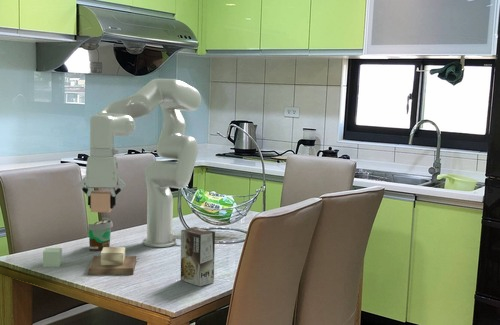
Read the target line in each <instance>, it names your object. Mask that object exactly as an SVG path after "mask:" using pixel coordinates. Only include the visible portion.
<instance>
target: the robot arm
mask: <svg viewBox="0 0 500 325" xmlns="http://www.w3.org/2000/svg"><path fill="white" fill-rule="evenodd" d="M201 104H202V96H201V94H200V92H199V90H198V89H196V88H195V87H193V86H191V85H189V84H188V83H186V82H184V81H182V80H179V79H175V78H154V79H151V80H150V81H149V82H147V83H146V84H145V85H144V86H143V87H141V88H140V89H139V90H138V91H136V92H135V93H134V94H132V95H129V96H127V97H124V98H122V99H120V100H116V101H114V102H111V103H109V104H108V105H106V106H105V107H104V108H102V109H101V110H100V111H99V112H98V113H96V114H93V115H91V116H90V119H89V156H87V161H86V167H85V175H84V177H83V178H82V179H81V180H80V181H79V182H78V183H77V186H78V188H79V189H81V190H82V192H83V193H84V194H86V197H87V205H88V206H89V209H91V193H92V192H93V191H94V189H109V191H110V192H111V197H110V208H111V209H112V210H113V209H114V207H115V206H116V201H117V200H116V199H117V195H118V194H119V193H121V191H122V190H123V189H125V188H126V186H127V184H126V183H125V182H124V181H123V180H122V179H121V178H120V176H119V165H118V158H117V157H116V156H115V155H118V154H119V150H118V149H116V148H115V137H121V138H123V137H124V138H125V137H129V136H131V135H132V134H133V133H134V132H135V130H136V122H135V119H138V118H143V117H145V116H148V115H150V114H151V113H152V112H153V111H154V110H155V109H156V108H157V107H159V106H160V108H161V112H162V116H163V125H162V129H161V132H160V135H159V138H158V142H157V145H156V154H157V155H158V157H159V158H162V159H165V160H152V161H150V162H149V163H148V164H147V165H146V166H145V169H144V177H145V183H146V189H147V190H146V191H147V192H146V193H147V199H146V200H147V204H146V206H147V208H146V210H147V212H146V219H147V220H146V237H145V238H144V239H142V244H143V245H144V246H147V247H151V248H167V247H172V246H174V245H176V244H177V240H181V233H175V232H174V230H173V221H174V220H173V218H174V216H173V213H174V211H173V210H174V197H173V193H172V191H171V188H173V189H185V188H186V187H187V186H188V185H189V183H190V181H191V179H192V174H193V171H194V169H195V164H196V161H197V157H198V154H199V153H198V152H199V145H198V142H197V140H196V138H194V137H193V136H190V135H185V132H186V121H185V118H184V116H183V114H182V112H184V111H185V112H194V111H196V110H198V109H199V108H200V106H201ZM181 111H182V112H181ZM167 160H168V161H167ZM170 160H172V161H170ZM118 185H120V186H118ZM117 186H118V187H117ZM116 187H117V188H116Z"/></svg>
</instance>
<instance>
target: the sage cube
mask: <svg viewBox="0 0 500 325" xmlns="http://www.w3.org/2000/svg"><path fill="white" fill-rule="evenodd" d="M62 252H63V248H62V247H46V248H45V249H44V250H43V251H42V267H43V268H45V267H46V268H47V267H49V268H51V267H55V268H57V267H58V268H59V267H60V265H61V264H63V263H62V262H63V260H62V259H63V258H62V257H63V255H62V254H63V253H62Z"/></svg>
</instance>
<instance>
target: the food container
mask: <svg viewBox="0 0 500 325" xmlns="http://www.w3.org/2000/svg"><path fill="white" fill-rule="evenodd" d="M101 219H102V220H100V221H95V223H92V224H90V223H88V228H87V230H88V238H89V252H102V251H101V250H102V249H103V247H111V246H110V244H111V243H110V242H111V231H112V228H113V227H114V225H113V221H112V220H111V218H108V217H102V218H101Z"/></svg>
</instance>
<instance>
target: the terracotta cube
mask: <svg viewBox="0 0 500 325" xmlns="http://www.w3.org/2000/svg"><path fill="white" fill-rule="evenodd" d="M110 197H111V192H110V190H93V192H92V193H91V208H90V213H111V211H112V210H113V209H111V208H110Z"/></svg>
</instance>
